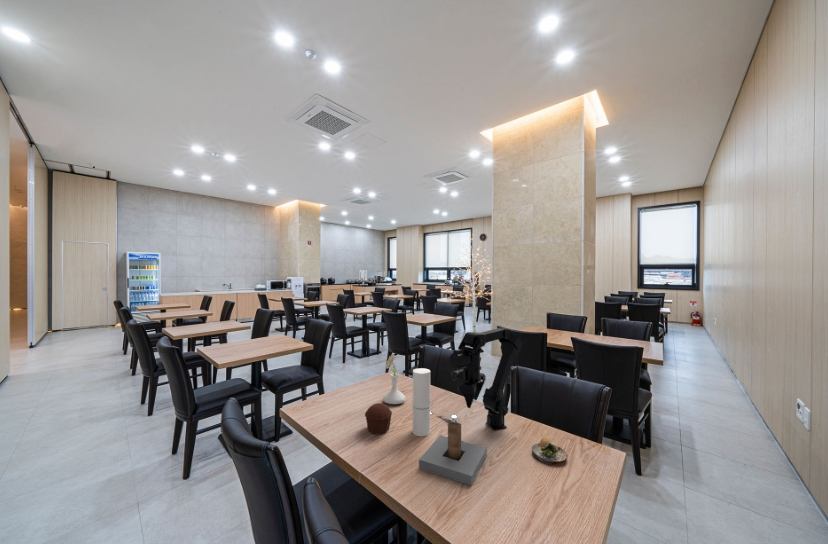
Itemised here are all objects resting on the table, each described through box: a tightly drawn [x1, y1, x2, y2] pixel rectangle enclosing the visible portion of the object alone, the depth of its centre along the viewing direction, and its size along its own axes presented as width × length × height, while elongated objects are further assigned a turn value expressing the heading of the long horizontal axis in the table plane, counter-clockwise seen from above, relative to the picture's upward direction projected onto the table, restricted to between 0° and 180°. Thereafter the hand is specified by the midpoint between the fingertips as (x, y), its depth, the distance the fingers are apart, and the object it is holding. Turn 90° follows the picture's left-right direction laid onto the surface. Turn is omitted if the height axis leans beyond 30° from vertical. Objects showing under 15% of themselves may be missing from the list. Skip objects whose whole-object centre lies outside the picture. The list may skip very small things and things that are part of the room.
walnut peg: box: [447, 420, 462, 461], centre depth 108 cm, size 4×4×13 cm
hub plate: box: [418, 434, 488, 486], centre depth 108 cm, size 18×18×3 cm
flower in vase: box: [382, 353, 406, 405], centre depth 158 cm, size 13×11×25 cm
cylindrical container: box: [412, 367, 431, 437], centre depth 129 cm, size 7×7×25 cm
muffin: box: [364, 402, 393, 436], centre depth 131 cm, size 12×11×10 cm
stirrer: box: [430, 410, 461, 423], centre depth 143 cm, size 20×4×5 cm
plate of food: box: [531, 433, 568, 466], centre depth 113 cm, size 12×12×8 cm
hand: (472, 403), depth 126 cm, fingers open, 9 cm apart
